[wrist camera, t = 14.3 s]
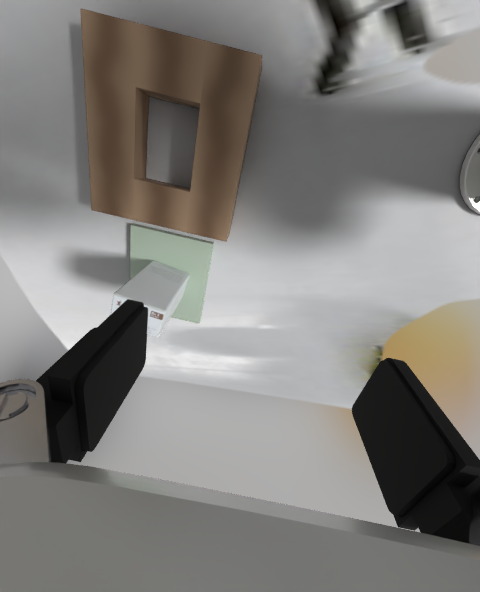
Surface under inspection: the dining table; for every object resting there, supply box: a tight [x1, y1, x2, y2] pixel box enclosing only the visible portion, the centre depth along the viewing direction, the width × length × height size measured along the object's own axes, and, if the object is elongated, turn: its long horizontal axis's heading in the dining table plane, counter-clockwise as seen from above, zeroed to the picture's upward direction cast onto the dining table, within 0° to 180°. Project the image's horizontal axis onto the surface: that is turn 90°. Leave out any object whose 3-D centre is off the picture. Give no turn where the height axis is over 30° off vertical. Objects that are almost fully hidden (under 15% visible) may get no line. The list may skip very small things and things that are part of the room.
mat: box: [130, 224, 214, 323], centre depth 39 cm, size 12×14×1 cm
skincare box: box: [111, 261, 190, 338], centre depth 33 cm, size 6×4×12 cm
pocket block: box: [81, 9, 262, 241], centre depth 30 cm, size 18×19×4 cm
